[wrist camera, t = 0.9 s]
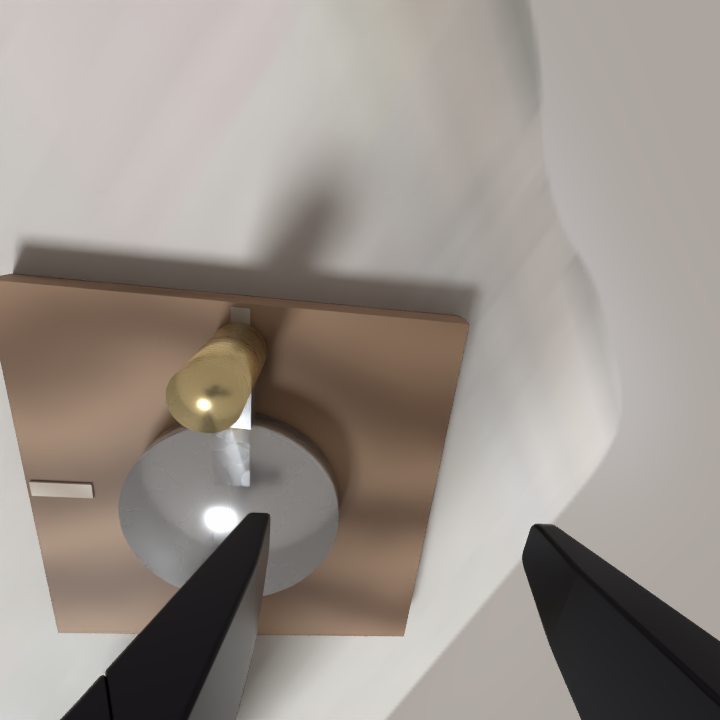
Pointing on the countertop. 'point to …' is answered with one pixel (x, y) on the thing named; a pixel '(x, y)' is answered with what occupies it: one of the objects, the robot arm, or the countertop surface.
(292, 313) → the dial panel
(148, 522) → the dial
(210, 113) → the countertop surface
